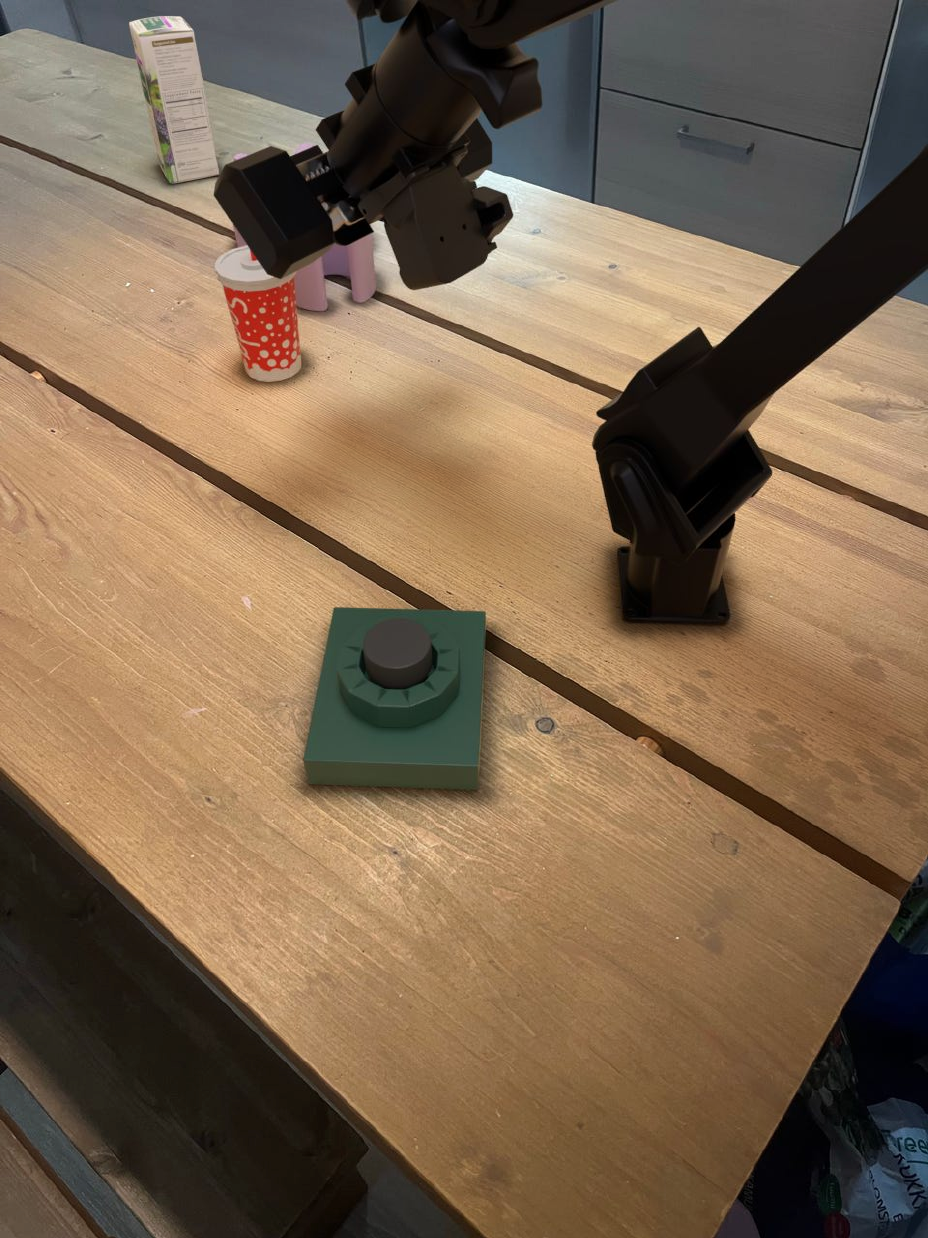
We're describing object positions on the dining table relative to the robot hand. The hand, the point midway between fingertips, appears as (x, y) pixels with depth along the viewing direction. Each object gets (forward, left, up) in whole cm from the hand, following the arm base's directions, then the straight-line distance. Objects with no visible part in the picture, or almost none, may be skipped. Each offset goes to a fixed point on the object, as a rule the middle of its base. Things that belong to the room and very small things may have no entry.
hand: (312, 240), depth 65 cm
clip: (+25, +6, -14) cm, 29 cm away
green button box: (-29, -8, -13) cm, 33 cm away
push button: (-29, -8, -10) cm, 32 cm away
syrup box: (+46, +23, -14) cm, 53 cm away
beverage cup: (+6, +6, -14) cm, 16 cm away
